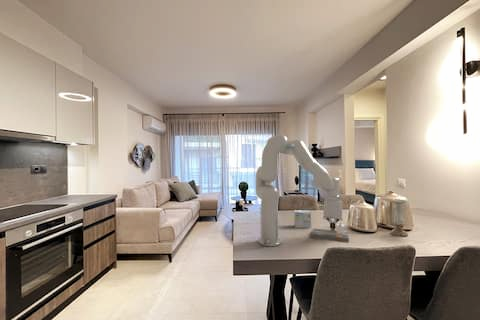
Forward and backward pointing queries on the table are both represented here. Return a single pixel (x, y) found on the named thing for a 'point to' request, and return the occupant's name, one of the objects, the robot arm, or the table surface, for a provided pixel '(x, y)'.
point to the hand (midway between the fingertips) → (332, 229)
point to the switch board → (329, 234)
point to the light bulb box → (302, 219)
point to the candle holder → (398, 219)
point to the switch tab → (340, 228)
